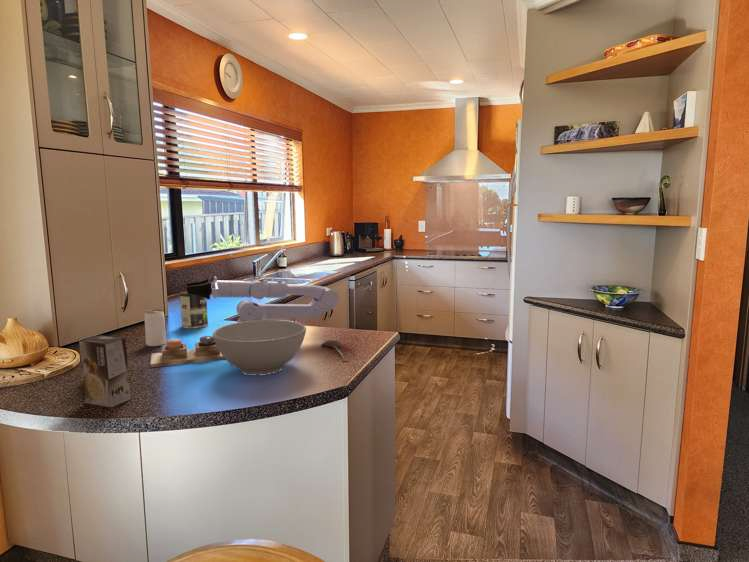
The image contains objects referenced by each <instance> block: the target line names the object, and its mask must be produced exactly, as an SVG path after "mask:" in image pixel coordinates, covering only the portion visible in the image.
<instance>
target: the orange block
mask: <svg viewBox="0 0 749 562" xmlns="http://www.w3.org/2000/svg"><path fill="white" fill-rule="evenodd" d="M166 345H167V350H170V349H180V348H182V339H180V338H174V339H168V340H166Z"/></svg>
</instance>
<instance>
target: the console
mask: <svg viewBox="0 0 749 562" xmlns="http://www.w3.org/2000/svg"><path fill="white" fill-rule="evenodd" d="M181 343H182V342H181ZM194 345H195V347H194V349H187V343H186V342H185V343H184V342H183V343H182V348H180V349H170V350H167V344H164V345H161V352H155V353H151V357H150V363H149V364H150V368H156V367H164V366H172V365H174V366H175V365H181V364H182V365H183V364H190V363H191V364H193V363H199V362H209V361H210V360H211V361H218V360H217V359H220V360H226V359H225V358H224V356H223V355H222V354H221V352H220V351H219V349H218V348H217V346H216V343H215V341H214V345H210V346H200V341H195V342H194Z"/></svg>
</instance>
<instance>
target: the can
mask: <svg viewBox="0 0 749 562" xmlns="http://www.w3.org/2000/svg"><path fill="white" fill-rule="evenodd" d="M163 311H164V310H163V309H149V310H146V311H145V314H144V317H143V318H144V330H145V342H146V346H148V347H153V346H154V347H160V346H161V347H162V345H166V344H167V342H166V341H167V335H166V322H165V321H166V320H165V319H166V318H165V313H164V312H163Z"/></svg>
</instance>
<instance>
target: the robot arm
mask: <svg viewBox="0 0 749 562" xmlns="http://www.w3.org/2000/svg"><path fill="white" fill-rule="evenodd" d="M185 291H187V293H188V294H193V295H198V296H202V297H205V298H206V300H211V296H212V297H213V298H214V299H216V298H236V299H237V298H240V299H241V298H254V299H257V300H262V299H264V298H265V299H285V298H286V297H287V296H288V295H291V296H292V295H293V296H305V297H306V296H308V297H309V296H310V297H312V299H311V301H310V302H309V303H308V304H307V303H306V304H305V303H303V304H302V303H301V304H299V303H298V304H297V303H296V304H295V303H287V304H286V303H262V302H253V301H252V300H249V299H243V300H240V301H239V302H238V304H236V312H237V314H238V316H239V317H238V319H237V320H236V323H238V322H245V321H254V320H266V319H310V318H311V319H315V318H318V317H319V316H321V315H323V314H325V313H327V312H329V311H333V310H334V308H335V307H336V306H337V304H338V303H339V301H340V300H339V299H340V296H339V294H338V292H337V291H335V290H333V289H331V288H329V287H328V286H325V285H324V286H321V285H316V284H315V285H314V284H311V285H309V284H305V285H304V284H302V285H301V284H300V285H297V284H296V285H294V284H293V285H288V284H287V283H286V282H285V281H283V280H282V279H277V281H270V280H269V281H268V280H267V279H263V281H260V280H257V279H253V280H251V281H249V280H246V281H245V280H227V279H226V280H218V278H217V276H214V277H213V281H212V282H211V281H209V277H207V278H205V279H202V280H198V281H192V282H187V283H186V290H185Z"/></svg>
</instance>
